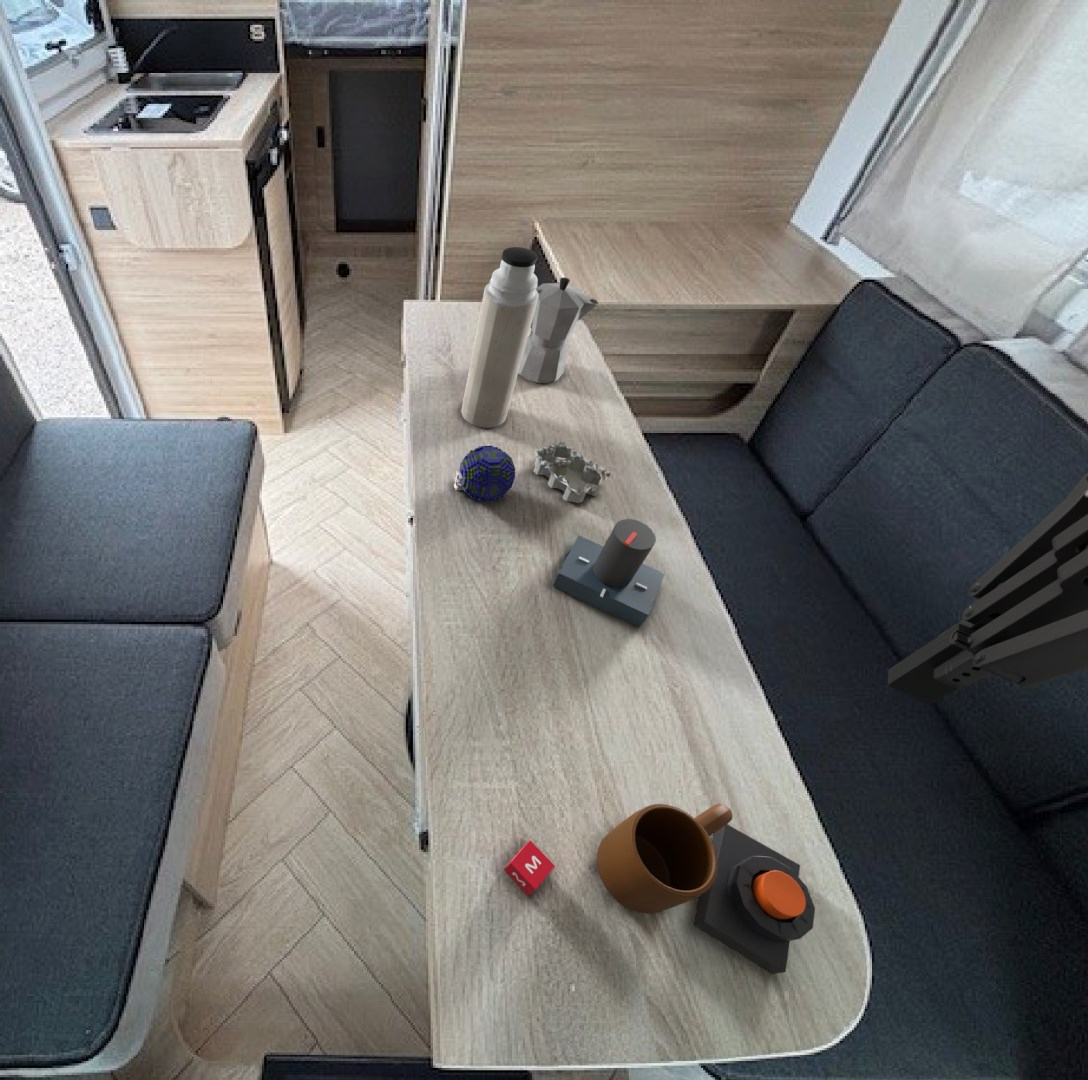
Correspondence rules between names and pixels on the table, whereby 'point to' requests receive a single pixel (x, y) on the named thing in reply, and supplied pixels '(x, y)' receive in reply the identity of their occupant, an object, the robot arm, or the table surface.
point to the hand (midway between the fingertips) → (909, 686)
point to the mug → (661, 857)
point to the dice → (529, 868)
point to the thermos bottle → (501, 338)
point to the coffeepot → (552, 330)
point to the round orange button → (779, 895)
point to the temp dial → (624, 553)
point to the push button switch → (750, 902)
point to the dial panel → (619, 602)
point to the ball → (485, 473)
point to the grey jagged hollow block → (569, 471)
